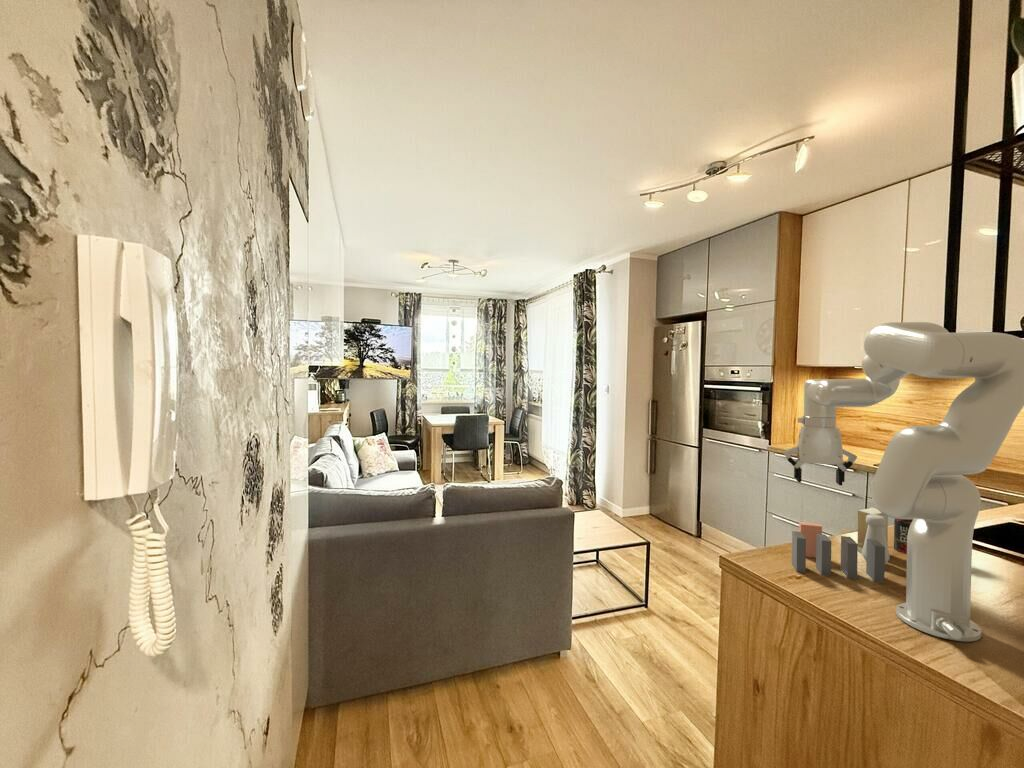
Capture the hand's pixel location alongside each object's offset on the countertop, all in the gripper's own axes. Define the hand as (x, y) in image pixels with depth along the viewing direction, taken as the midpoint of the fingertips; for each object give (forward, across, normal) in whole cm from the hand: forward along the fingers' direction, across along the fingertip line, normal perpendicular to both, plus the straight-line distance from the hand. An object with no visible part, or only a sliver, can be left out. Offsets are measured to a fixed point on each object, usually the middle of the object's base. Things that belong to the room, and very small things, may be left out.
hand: (818, 482), depth 125 cm
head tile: (+20, -2, -3) cm, 21 cm away
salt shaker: (+20, +13, -2) cm, 24 cm away
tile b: (+20, -2, -13) cm, 24 cm away
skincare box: (+20, +14, +6) cm, 26 cm away
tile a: (+20, -7, -13) cm, 25 cm away
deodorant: (+20, +24, +11) cm, 34 cm away
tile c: (+20, +4, -13) cm, 24 cm away
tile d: (+20, +9, -13) cm, 26 cm away
